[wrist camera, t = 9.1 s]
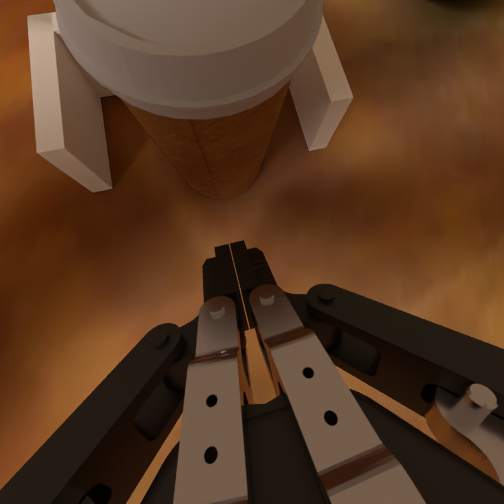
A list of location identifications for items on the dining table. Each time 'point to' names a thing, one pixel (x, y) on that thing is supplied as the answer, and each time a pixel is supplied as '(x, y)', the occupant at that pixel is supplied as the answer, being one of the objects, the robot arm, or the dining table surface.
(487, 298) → the dining table surface
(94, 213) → the dining table surface
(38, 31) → the bay
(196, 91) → the disposable coffee cup
